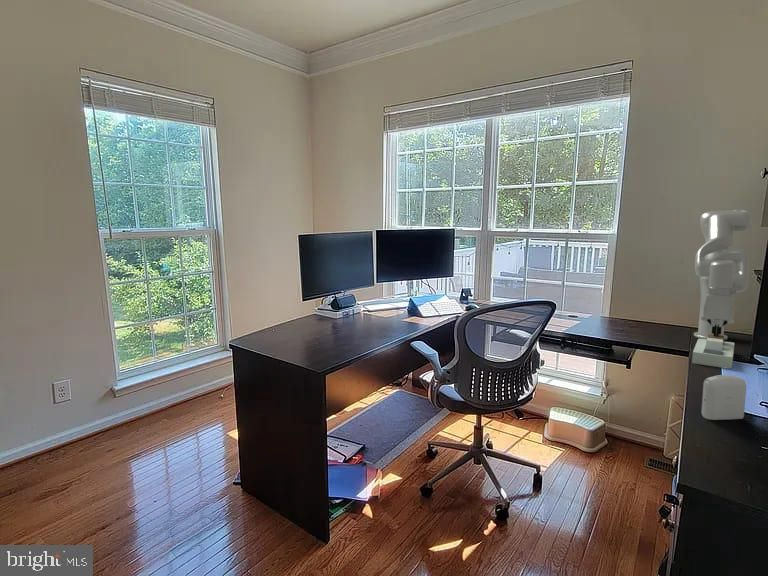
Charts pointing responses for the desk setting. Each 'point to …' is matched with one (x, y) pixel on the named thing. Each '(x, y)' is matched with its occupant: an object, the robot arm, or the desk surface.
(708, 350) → the slate key
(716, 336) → the walnut key
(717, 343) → the white key
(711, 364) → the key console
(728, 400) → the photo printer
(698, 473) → the desk surface
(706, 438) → the desk surface
